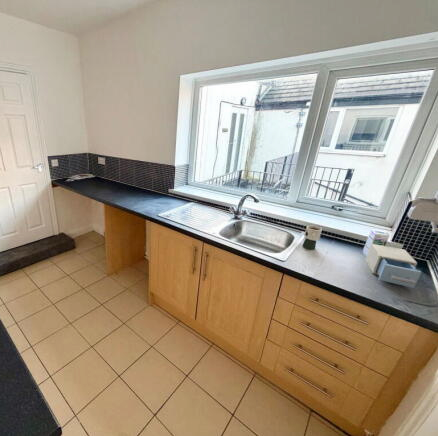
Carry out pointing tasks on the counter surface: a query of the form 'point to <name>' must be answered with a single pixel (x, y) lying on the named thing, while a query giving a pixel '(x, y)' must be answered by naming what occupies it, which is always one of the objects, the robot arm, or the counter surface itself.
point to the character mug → (311, 237)
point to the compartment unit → (386, 256)
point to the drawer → (398, 272)
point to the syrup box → (375, 239)
